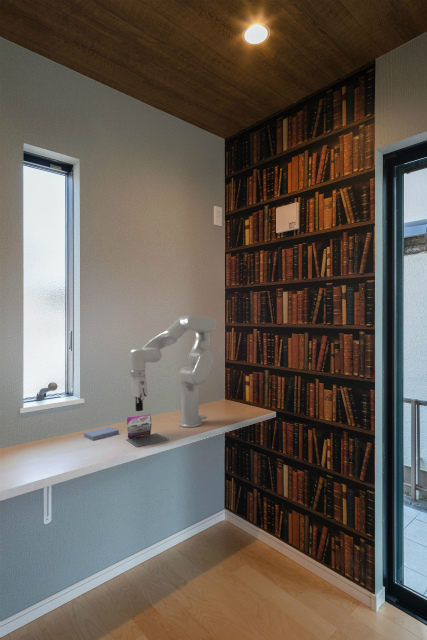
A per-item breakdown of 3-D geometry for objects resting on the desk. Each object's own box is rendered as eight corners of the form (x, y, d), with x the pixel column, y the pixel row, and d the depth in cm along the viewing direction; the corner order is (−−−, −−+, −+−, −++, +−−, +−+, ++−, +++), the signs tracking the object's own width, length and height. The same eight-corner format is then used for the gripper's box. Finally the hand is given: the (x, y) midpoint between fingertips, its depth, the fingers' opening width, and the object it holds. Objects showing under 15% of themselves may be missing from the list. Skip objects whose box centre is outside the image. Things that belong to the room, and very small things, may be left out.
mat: (156, 433, 187) (156, 433, 187) (168, 440, 176) (168, 439, 176) (126, 440, 178) (126, 439, 178) (136, 447, 167) (136, 446, 167)
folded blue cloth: (109, 431, 196) (109, 426, 196) (118, 435, 189) (118, 430, 189) (83, 437, 186) (83, 432, 186) (93, 441, 179) (92, 436, 179)
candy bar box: (149, 424, 187) (151, 413, 174) (150, 434, 184) (152, 423, 171) (126, 428, 184) (126, 416, 171) (127, 438, 181) (127, 427, 168)
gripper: (151, 374, 180) (152, 412, 180) (139, 371, 192) (140, 407, 192) (136, 376, 176) (137, 414, 176) (125, 373, 188) (126, 409, 188)
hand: (139, 410), depth 184 cm, fingers closed
